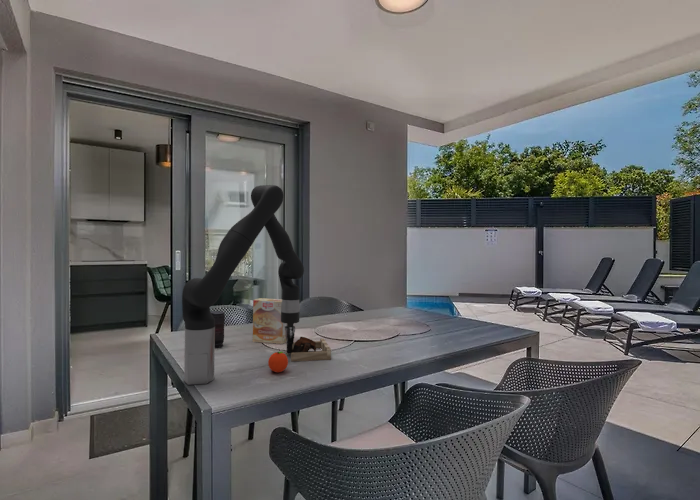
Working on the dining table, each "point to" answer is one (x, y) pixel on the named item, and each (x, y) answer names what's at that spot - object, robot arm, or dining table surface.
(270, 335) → the coffeecake box
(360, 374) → the dining table surface
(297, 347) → the pottery mug
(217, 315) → the camera lens
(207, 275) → the robot arm
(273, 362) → the clementine
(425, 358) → the dining table surface
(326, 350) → the beige wooden tray
